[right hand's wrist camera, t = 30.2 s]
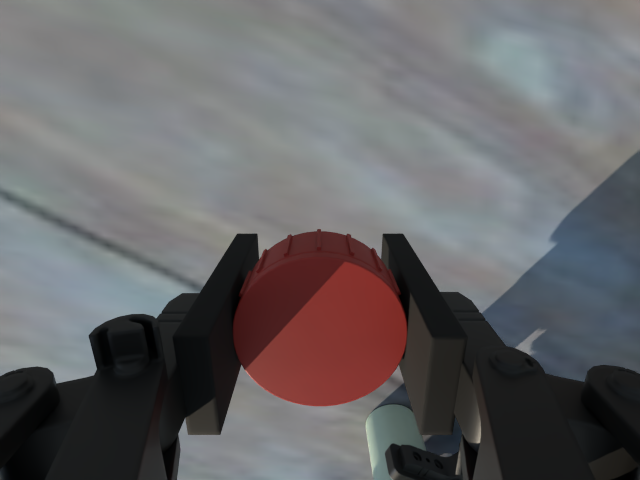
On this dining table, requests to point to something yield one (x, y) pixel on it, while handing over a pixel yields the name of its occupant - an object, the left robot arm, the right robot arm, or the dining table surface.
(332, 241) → the lid
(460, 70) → the dining table surface
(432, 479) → the left robot arm
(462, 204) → the dining table surface
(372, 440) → the bottle
